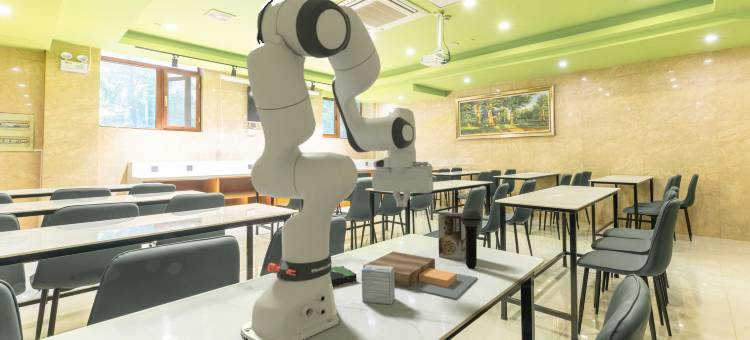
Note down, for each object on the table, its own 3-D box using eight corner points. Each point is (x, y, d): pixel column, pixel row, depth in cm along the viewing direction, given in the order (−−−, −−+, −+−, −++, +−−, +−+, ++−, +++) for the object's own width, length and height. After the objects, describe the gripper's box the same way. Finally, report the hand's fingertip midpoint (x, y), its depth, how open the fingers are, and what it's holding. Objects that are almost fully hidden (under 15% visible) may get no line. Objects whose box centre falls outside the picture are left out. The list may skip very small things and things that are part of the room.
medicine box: (395, 298, 91) (394, 266, 91) (391, 305, 87) (390, 271, 86) (366, 295, 93) (366, 264, 93) (361, 302, 89) (361, 269, 89)
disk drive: (310, 294, 96) (357, 282, 104) (310, 284, 96) (357, 273, 104) (299, 282, 105) (342, 272, 113) (298, 273, 105) (342, 264, 113)
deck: (408, 288, 97) (408, 274, 97) (363, 278, 106) (363, 265, 106) (435, 270, 112) (434, 258, 112) (393, 262, 121) (393, 251, 121)
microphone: (481, 271, 111) (481, 210, 110) (460, 270, 112) (460, 209, 112) (481, 265, 117) (480, 207, 116) (461, 264, 119) (461, 206, 118)
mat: (455, 299, 90) (455, 298, 90) (408, 288, 97) (408, 287, 97) (477, 278, 104) (477, 277, 104) (435, 270, 112) (435, 269, 112)
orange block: (447, 287, 97) (447, 280, 97) (419, 281, 102) (418, 274, 102) (456, 280, 103) (456, 273, 102) (429, 274, 108) (429, 268, 108)
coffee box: (467, 256, 128) (467, 213, 127) (461, 260, 123) (461, 216, 122) (444, 252, 133) (443, 211, 132) (437, 256, 127) (437, 214, 127)
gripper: (436, 161, 102) (437, 207, 102) (380, 162, 114) (380, 203, 114) (427, 161, 97) (427, 210, 97) (369, 162, 109) (369, 205, 109)
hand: (401, 206), depth 106 cm, fingers closed
